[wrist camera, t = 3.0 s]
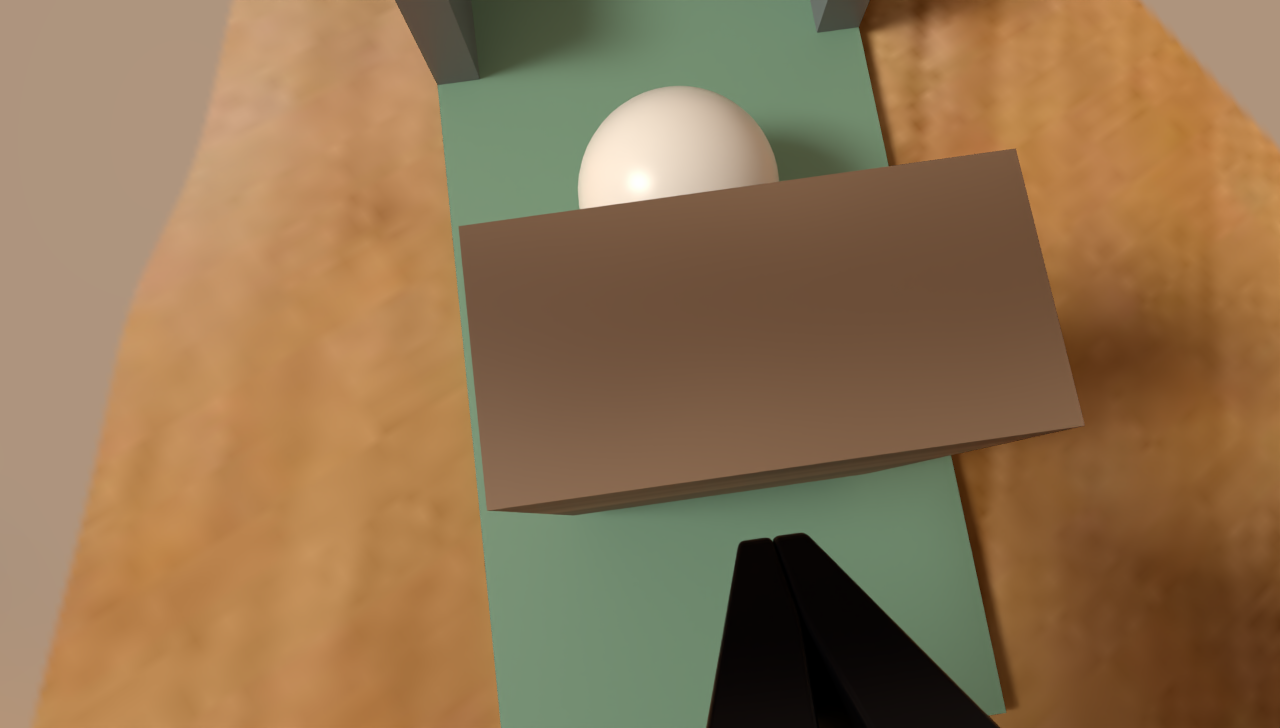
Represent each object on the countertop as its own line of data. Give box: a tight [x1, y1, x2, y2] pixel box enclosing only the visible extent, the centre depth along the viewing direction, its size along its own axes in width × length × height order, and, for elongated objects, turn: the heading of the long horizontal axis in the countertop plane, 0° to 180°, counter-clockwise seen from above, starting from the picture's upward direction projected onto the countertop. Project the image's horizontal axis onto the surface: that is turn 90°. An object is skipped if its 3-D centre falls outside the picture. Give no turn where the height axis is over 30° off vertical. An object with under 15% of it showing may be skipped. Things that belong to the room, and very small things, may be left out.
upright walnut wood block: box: [458, 149, 1085, 516], centre depth 12 cm, size 3×6×8 cm, turn 98°
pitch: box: [438, 0, 1006, 728], centre depth 18 cm, size 20×10×1 cm, turn 8°
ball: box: [578, 86, 779, 209], centre depth 16 cm, size 4×4×4 cm
